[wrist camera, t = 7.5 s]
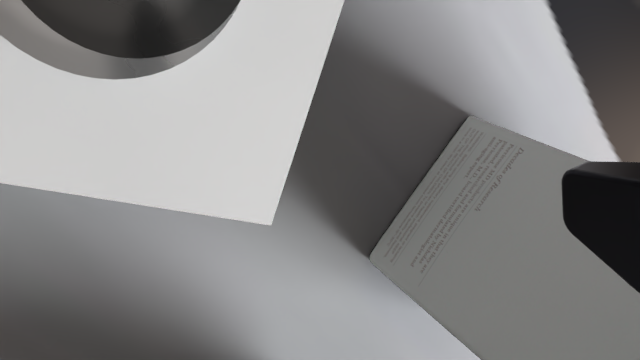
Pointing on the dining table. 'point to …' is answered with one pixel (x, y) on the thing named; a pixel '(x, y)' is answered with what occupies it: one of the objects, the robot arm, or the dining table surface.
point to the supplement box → (507, 255)
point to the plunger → (113, 33)
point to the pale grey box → (174, 118)
